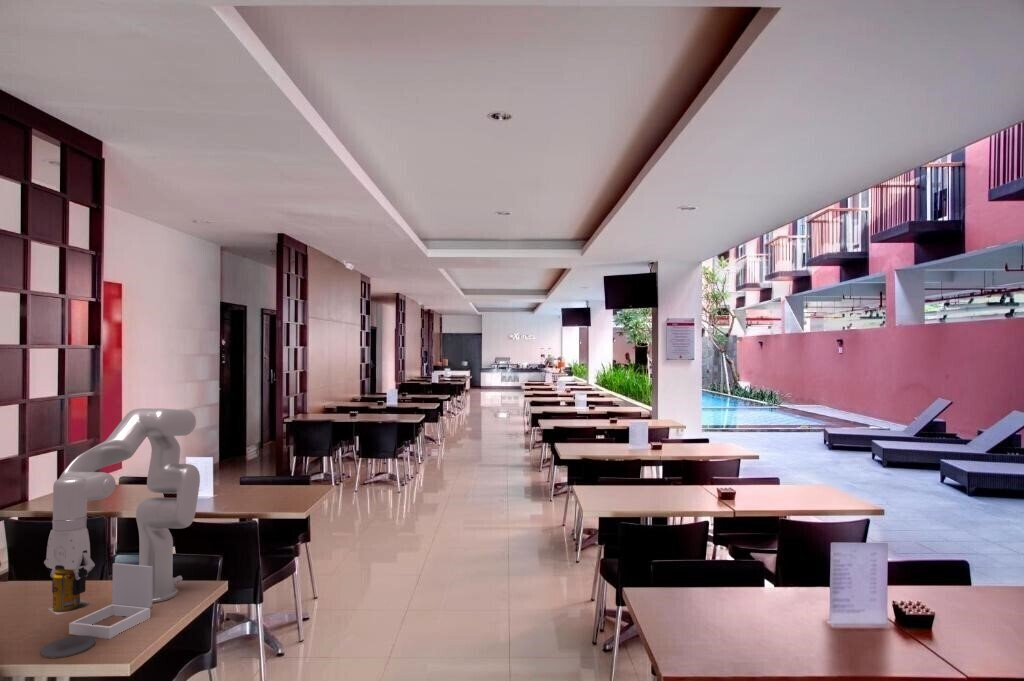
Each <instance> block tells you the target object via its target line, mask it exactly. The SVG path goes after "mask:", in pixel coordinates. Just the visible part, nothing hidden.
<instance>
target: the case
mask: <svg viewBox="0 0 1024 681" xmlns="http://www.w3.org/2000/svg"><path fill="white" fill-rule="evenodd" d="M152 588H153V566H142V565H139V564H132V563H131V564H130V563H117V562H114V563H112V591H111V592H112V594H111V596H112V597H111V598H112V600H111V601H112V603H111V604H109V605H107V606H104V607H103V608H100V609H99V610H96V611H93V612H92V613H89V614H87V615H85V616H82V617H80V618H78V619H76V620H73V621H72V622H69V623H68V635H74V636H83V635H84V636H92V637H94V638H99V639H109V640H111V639H112V638H115V637H116V636H118V635H120V634H122V633H123V631H124V632H126V631H128V630H130V629H132V628H134V627H136V626H138V625H140V624H142V623H143V621H144V622H146V621H148V620H150V619H151V610H152V609H153V603H152ZM113 615H114V616H115V617H122V616H126V617H125V618H124V619H122V620H120V621H118V622H115V623H113V624H111V625H110V626H107V625H101V624H97V623H99V622H101V621H103V619H104V620H105V619H108V618H110V617H112V616H113ZM149 618H150V619H149ZM147 619H148V620H147ZM145 620H146V621H145ZM141 622H142V623H141ZM139 623H140V624H139ZM92 624H93V625H92ZM137 624H138V625H137ZM135 625H136V626H135ZM133 626H134V627H133ZM131 627H132V628H131ZM129 628H130V629H129ZM127 629H128V630H127ZM125 630H126V631H125ZM121 632H122V633H121ZM119 633H120V634H119Z"/></svg>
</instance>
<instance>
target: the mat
mask: <svg viewBox="0 0 1024 681" xmlns="http://www.w3.org/2000/svg"><path fill="white" fill-rule="evenodd" d="M95 645H96V637H92V636H84V635H83V636H81V635H74V636H68V637H63V638H60V639H57V640H53V641H52V642H49V643H47V644H46V645H44V646H43V647H42V648H41V651H40V655H42V656H41V657H43V656H45V657H64V656H69V657H71V656H70V655H73V656H76V655H75V654H77V655H78V653H80V652H82V653H84V652H83V651H85V652H87V651H88V649H89V650H91V649H92V648H93V647H94V646H95ZM91 647H92V648H91ZM86 650H87V651H86ZM80 654H81V653H80ZM45 657H44V658H45ZM64 658H65V657H64Z"/></svg>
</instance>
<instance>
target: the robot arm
mask: <svg viewBox="0 0 1024 681" xmlns="http://www.w3.org/2000/svg"><path fill="white" fill-rule="evenodd" d="M196 424H197V419H196V416H195V414H194V412H192V411H191V410H189V409H176V408H175V409H173V408H147V407H146V408H144V407H143V408H134V409H132V410H130V411H129V412H128V413H126V415H125V416H124V417H123V419H122V420H121V421H120V422H119V423H118V425H117V426H116V427H115V429H114V430H113V431H112V433H110V434H109V436H108V437H107V438H106V440H105V441H103V442H101V443H98V444H97V445H95V446H93V447H92V448H90V449H87V450H86V451H84V452H82V453H81V454H79V455H78V456H76V457H75V459H72V461H70V463H69V464H68V465H67V467H66V468H65V469H64V470H63V472H62V473H61V475H60V476H59V478H58V479H56V480H54V483H53V488H52V520H51V523H52V529H51V530H50V533H49V536H48V540H47V546H46V555H45V556H46V557H45V558H46V559H44V561H43V564H44V565H45V567H46V568H47V570H48V572H49V573H50V574H49V575H50V578H51V582H52V584H51V588H52V590H51V592H52V594H53V576H54V574H55V566H56V565H60V566H64V569H65V570H73V572H74V575H75V580H74V581H73V595H78V594H80V595H81V594H83V593H85V592H86V579H87V577H89V574H90V572H92V570H93V569H94V567H95V565H96V564H95V562H94V561H93V560H92V558H91V542H90V535H89V530H88V528H87V521H88V520H87V518H88V516H87V512H88V510H87V509H88V506H87V505H88V502H89V501H90V502H91V501H98V500H103V499H106V498H108V497H110V496H111V495H112V494H113V492H114V491H115V489H116V486H117V485H116V484H117V483H116V479H115V478H114V476H113V474H110V473H108V472H104V471H103V472H102V471H98V470H101V469H102V468H106V467H108V466H109V467H110V466H112V465H115V464H119V463H121V462H124V461H126V460H129V459H131V458H132V457H133V456H134V454H135V453H136V452H137V450H138V449H139V447H140V446H141V445H142V443H143V442H144V440H146V439H147V438H148V440H149V443H150V447H151V452H150V460H149V467H148V472H147V478H146V486H147V489H148V490H149V491H150V492H151V493H156V494H176V497H150V498H145V499H144V500H142V501H140V502H139V504H138V505H137V507H136V510H135V520H136V523H137V524H136V525H137V529H138V537H139V538H138V540H139V541H138V542H139V543H138V544H139V547H138V548H139V552H138V555H139V557H138V560H139V562H138V565H142V566H153V588H152V604H153V603H159V602H164V601H167V600H169V599H173V598H174V597H176V596H177V595H178V592H179V589H178V588H177V587H176V586H175V585H176V584H178V583H180V582H182V581H183V577H182V575H177V576H176V577H174V576H173V574H174V572H173V569H174V567H173V564H174V561H173V560H174V559H173V558H174V556H173V554H174V552H173V550H174V540H173V536H172V533H171V531H170V529H185V528H188V527H190V526H191V525H192V523H193V522H194V519H195V516H196V511H197V505H198V504H197V503H198V497H199V492H200V485H201V483H200V482H201V475H200V471H199V469H198V467H196V465H193V464H191V463H180V457H181V446H180V444H179V441H178V439H177V438H176V437H179V436H180V437H181V436H182V437H185V436H188V435H190V434H192V432H193V431H194V430H195V428H196ZM79 571H80V573H79Z"/></svg>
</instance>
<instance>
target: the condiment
mask: <svg viewBox="0 0 1024 681" xmlns="http://www.w3.org/2000/svg"><path fill="white" fill-rule="evenodd" d="M80 572H81V570H79V573H80ZM74 580H75V575H74V572H73V570H65V569H64V566H60V565H56V566H55V574H54V576H53V593H52V607H47V609H48V610H49V611H50V612H51V613H53V614H55V615H56V616H58V615H63V614H66V613H70V612H73V611H76V610H77V611H78V610H79V609H84V608H87V607H90V606H94V604H92V603H90V602H89V601H87V600H86V599H83V598H82V599H81V593H80V594H78V595H73V581H74Z"/></svg>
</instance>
